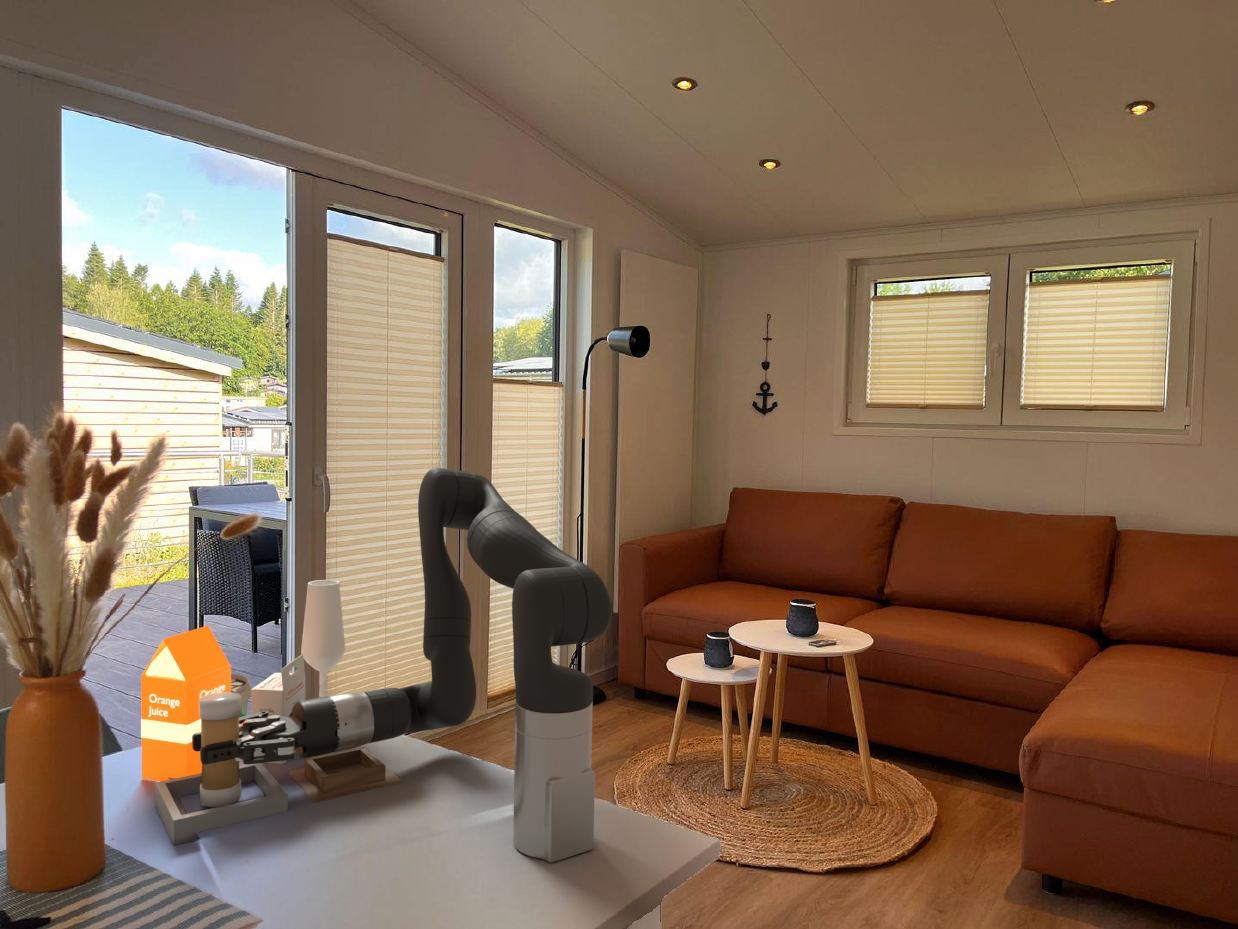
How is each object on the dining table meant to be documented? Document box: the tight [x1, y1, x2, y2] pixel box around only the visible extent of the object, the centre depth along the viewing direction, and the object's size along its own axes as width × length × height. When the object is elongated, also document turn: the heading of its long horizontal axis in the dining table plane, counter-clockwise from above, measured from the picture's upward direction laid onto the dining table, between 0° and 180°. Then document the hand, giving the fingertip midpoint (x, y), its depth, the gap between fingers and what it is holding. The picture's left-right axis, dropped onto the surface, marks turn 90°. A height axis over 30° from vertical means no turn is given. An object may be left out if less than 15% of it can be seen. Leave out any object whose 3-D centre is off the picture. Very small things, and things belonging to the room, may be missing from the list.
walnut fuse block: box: [287, 746, 404, 804], centre depth 123 cm, size 12×12×3 cm
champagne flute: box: [300, 579, 346, 698], centre depth 143 cm, size 7×7×24 cm
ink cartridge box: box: [250, 654, 306, 764], centre depth 131 cm, size 9×5×15 cm, turn 179°
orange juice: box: [140, 624, 232, 781], centre depth 126 cm, size 8×9×20 cm
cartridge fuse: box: [199, 692, 242, 808], centre depth 114 cm, size 5×5×13 cm
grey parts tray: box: [154, 763, 288, 846], centre depth 114 cm, size 13×13×3 cm
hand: (197, 749), depth 112 cm, fingers closed on cartridge fuse, 4 cm apart
